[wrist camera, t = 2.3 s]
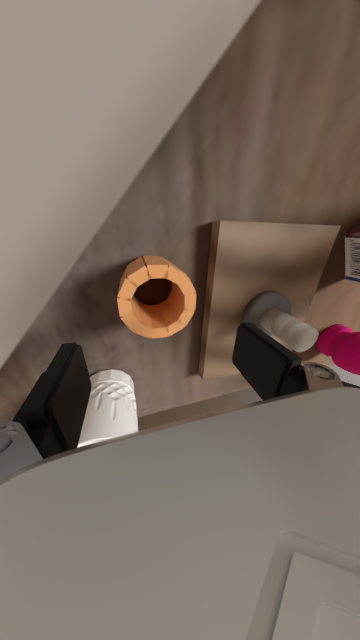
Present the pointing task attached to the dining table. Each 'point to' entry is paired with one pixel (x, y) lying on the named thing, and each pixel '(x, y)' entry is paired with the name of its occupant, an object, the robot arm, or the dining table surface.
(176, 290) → the ring
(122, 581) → the robot arm
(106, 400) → the white cup
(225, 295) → the post board
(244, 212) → the dining table surface
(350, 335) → the pepper mill
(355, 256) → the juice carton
